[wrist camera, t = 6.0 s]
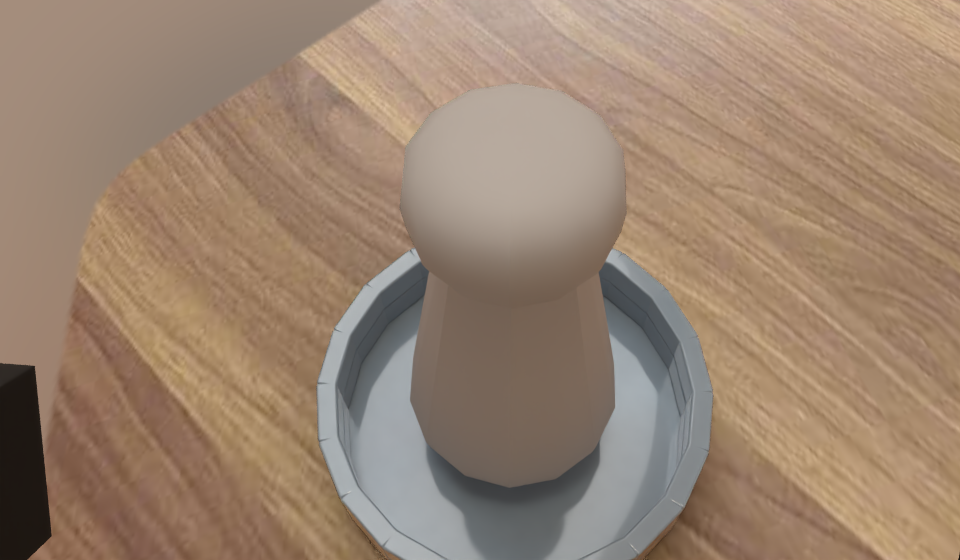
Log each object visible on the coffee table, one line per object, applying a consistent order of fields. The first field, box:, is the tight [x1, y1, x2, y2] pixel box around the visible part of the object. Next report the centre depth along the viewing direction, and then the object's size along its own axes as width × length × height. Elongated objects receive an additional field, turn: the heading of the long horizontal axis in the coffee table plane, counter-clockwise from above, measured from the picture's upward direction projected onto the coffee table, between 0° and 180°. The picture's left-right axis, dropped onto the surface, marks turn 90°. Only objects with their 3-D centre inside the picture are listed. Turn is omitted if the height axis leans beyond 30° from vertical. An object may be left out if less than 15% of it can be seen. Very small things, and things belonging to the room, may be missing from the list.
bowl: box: [316, 248, 713, 560], centre depth 26 cm, size 11×11×2 cm
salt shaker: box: [400, 83, 626, 488], centre depth 21 cm, size 6×6×13 cm
